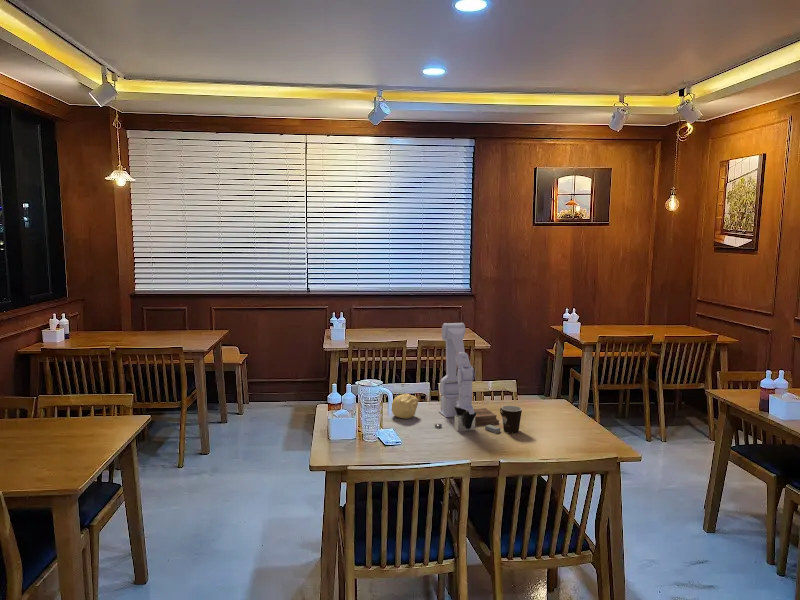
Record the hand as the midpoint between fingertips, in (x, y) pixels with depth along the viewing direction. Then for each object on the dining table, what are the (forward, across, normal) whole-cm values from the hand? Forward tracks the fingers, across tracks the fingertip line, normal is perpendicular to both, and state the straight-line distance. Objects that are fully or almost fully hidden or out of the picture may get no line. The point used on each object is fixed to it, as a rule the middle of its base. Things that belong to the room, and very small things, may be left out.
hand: (464, 425), depth 243 cm
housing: (+2, 0, 0) cm, 2 cm away
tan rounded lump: (+2, -24, -20) cm, 31 cm away
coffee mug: (+2, +6, +19) cm, 20 cm away
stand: (+2, -10, +12) cm, 16 cm away
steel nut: (+2, -6, -10) cm, 12 cm away
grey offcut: (+2, +5, +11) cm, 12 cm away
